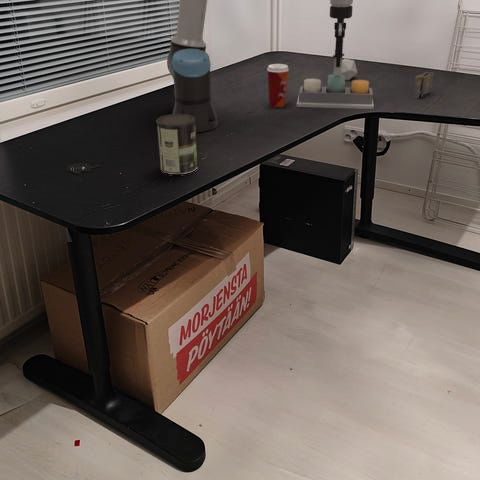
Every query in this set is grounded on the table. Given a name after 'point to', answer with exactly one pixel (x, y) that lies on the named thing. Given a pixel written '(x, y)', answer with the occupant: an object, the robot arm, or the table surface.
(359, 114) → the table surface
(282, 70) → the paper cup
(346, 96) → the panel
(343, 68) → the die
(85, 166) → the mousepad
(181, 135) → the coffee can
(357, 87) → the orange candle
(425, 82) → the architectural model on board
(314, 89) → the ivory button
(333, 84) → the teal button
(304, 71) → the table surface
